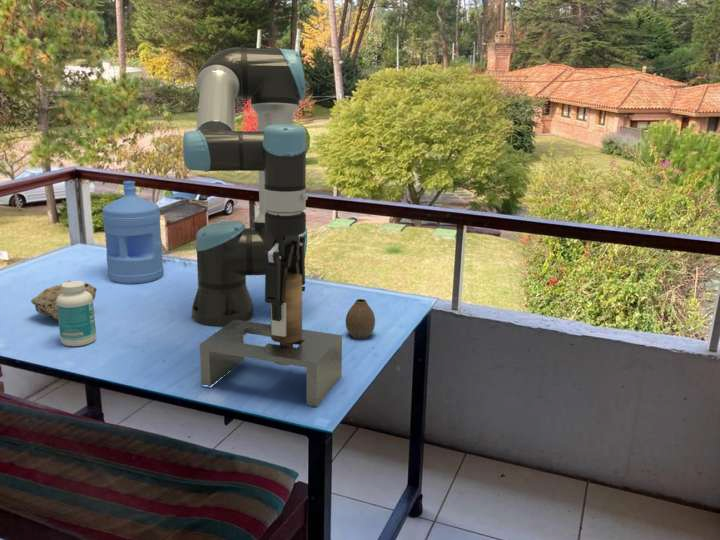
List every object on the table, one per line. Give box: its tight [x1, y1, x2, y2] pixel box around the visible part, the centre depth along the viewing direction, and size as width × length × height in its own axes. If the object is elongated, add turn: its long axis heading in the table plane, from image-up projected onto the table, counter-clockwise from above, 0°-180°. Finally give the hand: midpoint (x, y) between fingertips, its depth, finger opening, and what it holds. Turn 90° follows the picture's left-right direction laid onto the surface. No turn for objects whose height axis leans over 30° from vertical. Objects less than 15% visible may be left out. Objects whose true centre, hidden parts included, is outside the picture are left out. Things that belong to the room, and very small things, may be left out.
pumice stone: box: [30, 280, 97, 321], centre depth 163 cm, size 14×12×8 cm
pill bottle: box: [56, 280, 97, 347], centre depth 148 cm, size 8×7×14 cm
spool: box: [269, 272, 303, 366], centre depth 128 cm, size 6×6×17 cm
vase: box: [345, 298, 376, 340], centre depth 156 cm, size 7×7×9 cm
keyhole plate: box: [199, 319, 343, 408], centre depth 132 cm, size 24×14×9 cm, turn 72°
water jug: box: [101, 180, 165, 285], centre depth 191 cm, size 16×16×28 cm
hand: (286, 328), depth 129 cm, fingers closed on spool, 6 cm apart
